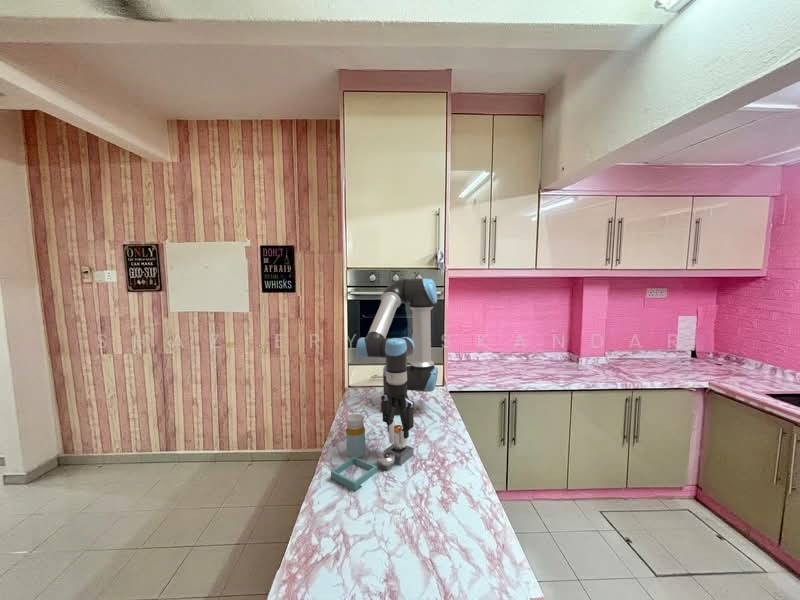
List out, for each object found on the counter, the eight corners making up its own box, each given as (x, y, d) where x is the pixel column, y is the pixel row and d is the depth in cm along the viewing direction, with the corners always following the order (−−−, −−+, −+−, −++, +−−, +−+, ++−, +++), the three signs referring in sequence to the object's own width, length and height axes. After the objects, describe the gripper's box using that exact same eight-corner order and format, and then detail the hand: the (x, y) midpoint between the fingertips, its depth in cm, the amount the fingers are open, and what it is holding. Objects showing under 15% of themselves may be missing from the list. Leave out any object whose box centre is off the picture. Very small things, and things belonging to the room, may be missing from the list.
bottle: (362, 461, 125) (361, 422, 124) (344, 460, 126) (342, 421, 125) (368, 451, 132) (366, 414, 130) (350, 450, 133) (349, 413, 132)
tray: (354, 464, 124) (353, 456, 123) (377, 474, 117) (377, 466, 117) (331, 479, 115) (330, 471, 115) (354, 492, 108) (354, 483, 108)
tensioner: (390, 477, 116) (389, 461, 115) (372, 469, 120) (372, 454, 120) (413, 458, 127) (413, 444, 126) (396, 451, 131) (396, 438, 131)
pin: (397, 453, 128) (397, 424, 127) (404, 456, 126) (403, 426, 125) (392, 457, 126) (392, 427, 124) (399, 460, 124) (398, 429, 123)
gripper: (371, 380, 125) (373, 440, 128) (411, 390, 115) (412, 455, 117) (384, 374, 131) (385, 432, 134) (423, 383, 121) (424, 446, 123)
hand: (398, 443), depth 125 cm, fingers open, 5 cm apart
